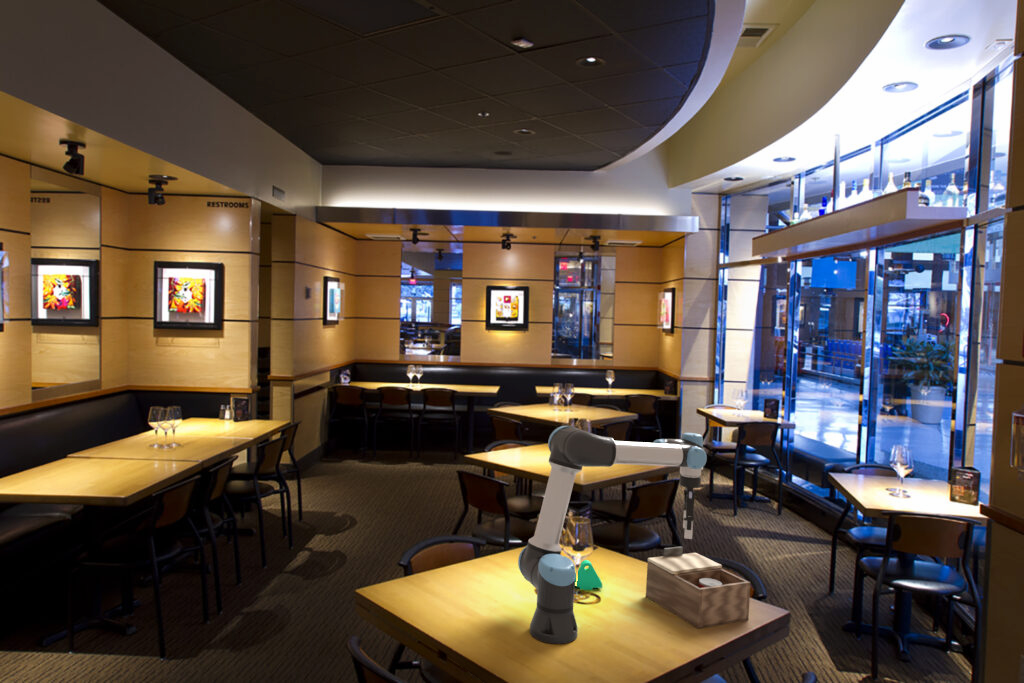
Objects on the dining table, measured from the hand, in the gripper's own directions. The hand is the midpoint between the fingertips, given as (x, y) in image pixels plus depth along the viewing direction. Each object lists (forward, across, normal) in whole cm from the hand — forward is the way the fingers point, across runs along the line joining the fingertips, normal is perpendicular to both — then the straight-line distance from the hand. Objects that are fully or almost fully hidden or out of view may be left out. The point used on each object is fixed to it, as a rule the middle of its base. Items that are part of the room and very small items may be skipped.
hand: (687, 533), depth 242 cm
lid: (+12, 0, 0) cm, 12 cm away
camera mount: (+25, +2, +37) cm, 45 cm away
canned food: (+24, -11, -8) cm, 28 cm away
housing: (+25, -5, -4) cm, 26 cm away
